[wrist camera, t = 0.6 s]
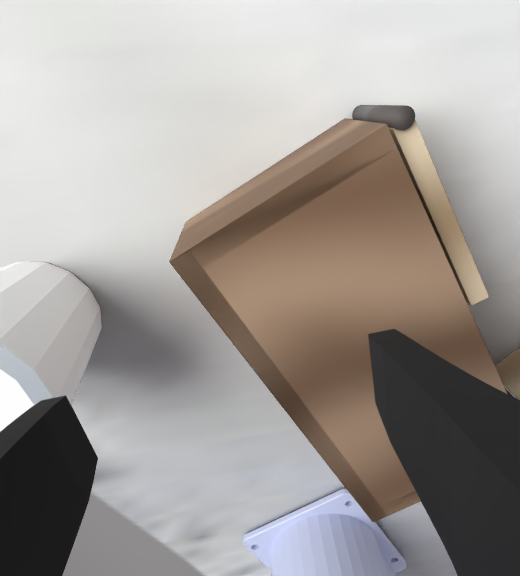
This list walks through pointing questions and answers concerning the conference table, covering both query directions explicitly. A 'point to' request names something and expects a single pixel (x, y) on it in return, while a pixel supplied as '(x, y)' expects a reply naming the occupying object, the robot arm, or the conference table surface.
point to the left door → (510, 373)
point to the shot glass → (43, 335)
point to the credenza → (341, 285)
